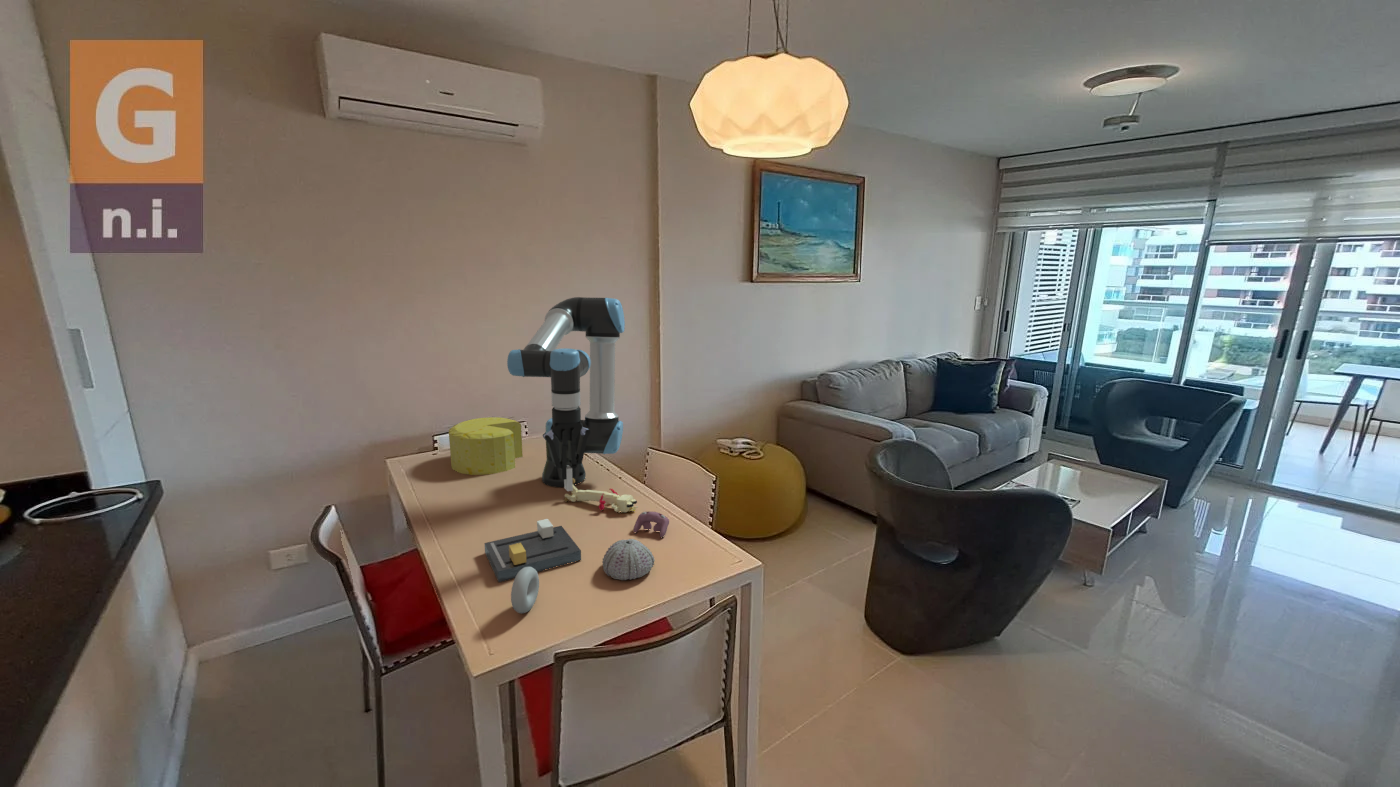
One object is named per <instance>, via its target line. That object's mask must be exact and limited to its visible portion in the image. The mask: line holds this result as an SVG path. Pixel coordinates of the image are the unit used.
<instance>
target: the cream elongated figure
mask: <svg viewBox="0 0 1400 787" xmlns="http://www.w3.org/2000/svg"><path fill="white" fill-rule="evenodd" d="M572 482H573V483H575V479H574V478H572ZM609 490H610V491H611V493H610V492H608V491H602V490H595V489H586V490H584V489H578V488H577V486H576V485H573V491H570V492H571V494H569V493H565V494H564V498H563V500H564V502H567V501H570V502H571V503H572V502H573V503H574V502H581V501H583V502H599V505H598V509H599V511H600V512H602V511H601V510H604V509H605V505H607V504H608V505H611V509H614V512H616V513H617V512H618V513H619V514H621V513H627V512H630V511H635V510H636V509H637V508H639V506H637V505H636V504H637V503H638V501H637V499H635V498H634V496H633V495H632V494H622V495H620V494H618V492H617V491H616V490H614V489H613V488H609ZM576 500H577V501H576ZM567 503H568V502H567ZM635 505H636V506H635ZM619 511H621V513H620V512H619ZM635 512H636V511H635Z"/></svg>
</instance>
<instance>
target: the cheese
mask: <svg viewBox="0 0 1400 787" xmlns="http://www.w3.org/2000/svg"><path fill="white" fill-rule="evenodd" d="M448 439H449V440H448V442H449V452H450V454H449V455H450V462H451V463H450V464H451V469H452V470H453V471H454V470H455V471H454V472H456V471H457V472H456V473H458V474H462V475H471V476H484V475H495V474H499V473H505V472H508V471H510V470H513V469H516V458H517V459H518V458H524V457H523V456H524V455H523V454H524V453H523V441H522V439H523V438H522V423H520V422H519V421H517V420H515V419H510V418H506V417H499V416H498V417H495V416H494V417H493V416H492V417H490V416H489V417H479V418H478V417H477V418H472V419H469V420H464V421H461V422H459V423H457V424H454V425H453V426H452V427H451V428H449V429H448Z"/></svg>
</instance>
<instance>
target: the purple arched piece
mask: <svg viewBox="0 0 1400 787" xmlns="http://www.w3.org/2000/svg"><path fill="white" fill-rule="evenodd" d="M652 523H656V524H654V526H652ZM669 525H670V519H669V517H667V516H666V515H664V514H662V513H661V512H657V511H643V512H641V513H640V514H639V515H638V516H637V519H636V521H635V523H634V526H633V533H634V532H637V531H638V530H639V529H640V530H641V528H642V527H643V530H644V529H648V530H649V529H651V530H652V529H653V532H654V531H660V532H659V538H660V537H663V536H664V535H665V536H666V534H667V531H668V527H669ZM652 527H653V528H652ZM640 530H639V531H640ZM639 531H638V532H639ZM649 531H650V530H649ZM638 532H637V533H638ZM665 536H664V537H665ZM664 537H663V538H664Z"/></svg>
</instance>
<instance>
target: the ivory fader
mask: <svg viewBox="0 0 1400 787" xmlns="http://www.w3.org/2000/svg"><path fill="white" fill-rule="evenodd" d="M536 526H537V527H536V528H537V529H536V531H538V533H539V534H540V535H541V537H542V538H547V537H551V536H554V535H553V527H554V525H553V523H552V522H551V521H550V519H548V518H545V519H540V520H536Z"/></svg>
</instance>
